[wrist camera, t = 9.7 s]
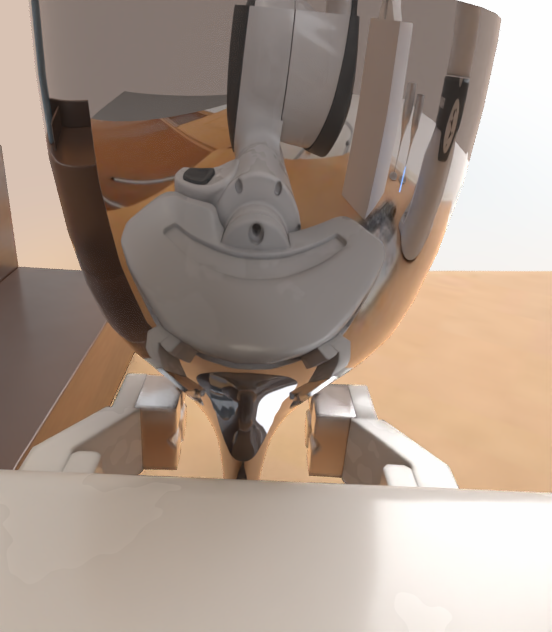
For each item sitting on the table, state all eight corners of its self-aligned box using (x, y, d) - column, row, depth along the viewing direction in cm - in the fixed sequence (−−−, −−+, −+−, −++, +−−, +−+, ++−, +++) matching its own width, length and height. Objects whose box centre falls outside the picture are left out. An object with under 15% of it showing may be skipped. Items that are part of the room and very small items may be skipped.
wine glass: (41, 584, 15) (-59, -20, 9) (238, 460, 21) (261, 29, 15) (229, 831, 11) (291, -57, 4) (419, 587, 16) (568, 35, 10)
